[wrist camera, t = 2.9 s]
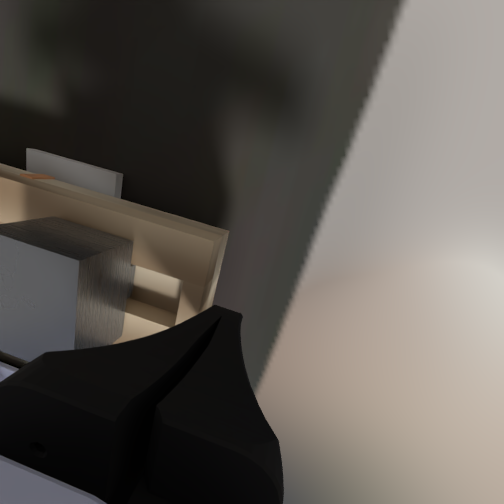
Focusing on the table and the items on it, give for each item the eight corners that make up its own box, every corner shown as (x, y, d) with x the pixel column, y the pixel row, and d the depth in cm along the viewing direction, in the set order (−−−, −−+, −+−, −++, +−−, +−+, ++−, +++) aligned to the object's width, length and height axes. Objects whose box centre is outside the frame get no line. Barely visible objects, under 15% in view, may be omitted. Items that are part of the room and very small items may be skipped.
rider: (135, 324, 14) (72, 378, 10) (69, 301, 15) (-16, 345, 11) (147, 236, 13) (79, 261, 9) (73, 213, 13) (-23, 227, 9)
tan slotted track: (210, 338, 18) (182, 387, 14) (-52, 248, 20) (-146, 267, 16) (242, 207, 15) (219, 218, 11) (-65, 120, 17) (-182, 101, 13)
